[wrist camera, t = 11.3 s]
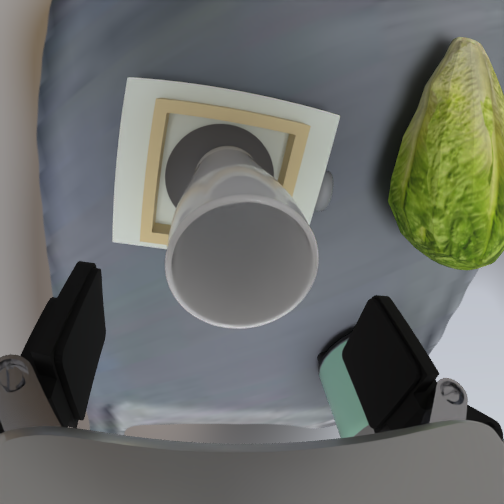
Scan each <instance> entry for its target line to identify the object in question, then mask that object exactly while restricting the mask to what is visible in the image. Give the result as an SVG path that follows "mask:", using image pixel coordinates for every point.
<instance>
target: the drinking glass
mask: <svg viewBox="0 0 504 504" xmlns="http://www.w3.org/2000/svg"><path fill="white" fill-rule="evenodd" d="M318 263H319V252H318V246H317V242H316V239H315V236H314V234H313V232H312V230H311V228H310V226H309V224H308V222H307V220H306V218H305V217H304V215H303V213H302V211H301V210H300V208H299V206H298V205H297V203H296V202H295V201H294V199H293V198H292V197H291V195H290V194H289V193H288V191H287V190H286V189H285V188H284V187H283V186H282V185H281V184H280V183H279V182H278V181H277V180H276V179H275V178H274V177H273V176H272V175H270V174H269V173H268V172H267V171H266V170H265V169H263V168H262V167H261V166H260V165H259V164H258V163H257V162H256V161H255V160H254V158H253V157H252V156H251V155H250V154H249V153H248V152H246V151H245V150H243V149H241V148H238V147H234V146H221V147H217V148H214V149H212V150H210V151H209V152H207V153H206V154H205V155H204V156H203V157H202V158H201V159H200V161H199V162H198V164H197V166H196V169H195V173H194V175H193V177H192V178H191V180H190V182H189V184H188V185H187V187H186V189H185V191H184V193H183V195H182V196H181V198H180V200H179V202H178V205H177V207H176V210H175V212H174V215H173V219H172V222H171V226H170V230H169V235H168V241H167V249H166V256H165V273H166V278H167V282H168V285H169V287H170V290H171V292H172V294H173V295H174V297H175V298H176V300H177V301H178V302H179V304H180V305H181V306H182V307H183V308H184V309H185V310H187V311H188V312H189V313H190V314H192V315H193V316H195V317H196V318H198V319H200V320H202V321H204V322H206V323H209V324H212V325H215V326H219V327H224V328H236V329H240V328H252V327H257V326H261V325H265V324H267V323H270V322H273V321H275V320H277V319H279V318H281V317H283V316H284V315H286V314H287V313H289V312H290V311H291V310H293V309H294V308H295V307H296V306H297V305H298V304H299V303H300V302H301V301H302V300H303V299H304V298H305V296H306V295H307V293H308V292H309V290H310V289H311V287H312V285H313V283H314V280H315V278H316V274H317V270H318Z"/></svg>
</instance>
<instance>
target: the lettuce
mask: <svg viewBox="0 0 504 504" xmlns="http://www.w3.org/2000/svg"><path fill="white" fill-rule="evenodd" d="M388 203H389V205H390V207H391V210H392V212H393V215H394V217H395V220H396V222H397V224H398V227H399V229H400V232H401V233H402V235H403V236H404V237H405V238H406V239H407V240H408V241H409V242H410V243H411V244H412V245H413V246H414V247H415V248H416V249H417V250H419V251H420V252H422V253H423V254H424V255H426V256H427V257H429V258H430V259H431V260H433V261H435V262H437V263H439V264H441V265H444V266H447V267H450V268H454V269H459V270H473V269H477V268H480V267H483V266H486V265H489V264H492V263H493V262H495V261H496V260H497V258H498V257H499V256H500V255H501V254H502V252H503V251H504V95H503V92H502V89H501V87H500V84H499V82H498V79H497V77H496V74H495V72H494V70H493V67H492V65H491V62H490V60H489V58H488V56H487V54H486V52H485V50H484V49H483V47H482V45H481V44H480V43H478V42H477V41H475V40H472V39H469V38H464V37H458V38H455V39H453V41H452V43H451V44H450V46H449V48H448V50H447V52H446V54H445V56H444V58H443V59H442V60H441V62H440V63H439V65H438V66H437V68H436V69H435V71H434V73H433V74H432V76H431V77H430V79H429V81H428V82H427V84H426V85H425V87H424V91H423V94H422V97H421V100H420V102H419V105H418V108H417V110H416V112H415V114H414V116H413V118H412V120H411V122H410V124H409V126H408V128H407V130H406V132H405V134H404V136H403V139H402V143H401V146H400V150H399V153H398V157H397V160H396V164H395V167H394V171H393V174H392V177H391V185H390V192H389V198H388Z"/></svg>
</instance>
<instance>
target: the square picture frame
mask: <svg viewBox="0 0 504 504" xmlns="http://www.w3.org/2000/svg"><path fill="white" fill-rule="evenodd" d="M339 119H340V115H337V114H333V113H330V112H326V111H323V110H319V109H315V108H312V107H308V106H304V105H300V104H296V103H292V102H288V101H284V100H280V99H275V98H271V97H266V96H262V95H257V94H252V93H247V92H242V91H236V90H231V89H225V88H219V87H213V86H206V85H200V84H192V83H185V82H176V81H167V80H158V79H146V78H133V77H128V78H127V84H126V90H125V97H124V103H123V110H122V117H121V125H120V133H119V142H118V152H117V163H116V175H115V189H114V209H113V242H117V243H124V244H132V245H139V246H147V247H154V248H162V249H167V241H168V235H169V230H170V226H171V222H172V219H173V215H174V212H175V210H176V207H177V205H178V202H179V200H180V198H181V196H182V195H183V193H184V191H185V189H186V187H187V185H188V184H189V182H190V180H191V178H192V177H193V175H194V173H195V169H196V166H197V164H198V162H199V161H200V159H201V158H202V157H203V156H204V155H205V154H206V153H207V152H209V151H210V150H212V149H214V148H217V147H221V146H234V147H238V148H241V149H243V150H245V151H246V152H248V153H249V154H250V155H251V156H252V157H253V158H254V160H255V161H256V162H257V163H258V164H259V165H260V166H261V167H262V168H263V169H265V170H266V171H267V172H268V173H269V174H270V175H272V176H273V177H274V178H275V179H276V180H277V181H278V182H279V183H280V184H281V185H282V186H283V187H284V188H285V189H286V190H287V191H288V193H289V194H290V195H291V197H292V198H293V199H294V201H295V202H296V203H297V205H298V206H299V208H300V210H301V211H302V213H303V215H304V217H305V218H306V220H307V222H308V224H309V225H310V222H311V219H312V215H313V212H314V210H316V211H324V210H325V209H326V208H327V206H328V204H329V202H330V200H331V196H332V192H333V177H332V174H331V172H329V171H326V167H327V163H328V160H329V156H330V152H331V149H332V145H333V141H334V138H335V134H336V130H337V126H338V122H339Z"/></svg>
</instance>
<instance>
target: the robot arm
mask: <svg viewBox="0 0 504 504" xmlns="http://www.w3.org/2000/svg"><path fill="white" fill-rule="evenodd" d="M105 335H106V328H105V318H104V307H103V293H102V276H101V269H98V268H96V265H95V263H88V262H82V261H79V262H78V263H77V264H76V266H75V267H74V269H73V271H72V273H71V274H70V276H69V278H68V279H67V281H66V283H65V285H64V287H63V288H62V290H61V292H60V294H59V296H58V297H57V298H54V297H52V298H50V300H49V301H48V303H47V305H46V306H45V308H44V310H43V312H42V314H41V316H40V318H39V319H38V322H37V323H36V325H35V327H34V329H33V331H32V333H31V335H30V337H29V339H28V341H27V343H26V345H25V347H24V350H23V352H22V354H21V356H19V355H5V356H2V357H0V504H504V439H503V432H502V429H501V426H500V425H499V423H498V422H497V421H495V420H493V419H492V418H490V417H488V416H487V415H485V414H483V413H481V412H479V411H477V410H476V409H474V408H472V407H470V406H469V405H467V394H466V392H465V390H464V389H463V387H462V386H461V385H460V384H459V383H458V382H456V381H454V380H452V379H449V378H443V379H440V380H439V381H438V382H436V380H435V379H436V377H437V376H438V375H439V372H438V371H437V369H436V367H435V366H434V364H433V362H432V361H431V359H430V358H429V356H428V354H427V353H426V351H425V350H424V348H423V346H422V345H421V343H420V342H419V340H418V339H417V337H416V336H415V334H414V333H413V331H412V329H411V328H410V326H409V325H408V323H407V322H406V320H405V319H404V317H403V316H402V314H401V313H400V312H399V310H398V309H397V307H396V306H395V304H394V303H393V301H392V300H391V298H390V297H388V296H377V295H376V296H373V297H372V299H369V300H368V302H367V304H366V306H365V308H364V310H363V312H362V314H361V316H360V318H359V320H358V322H357V324H356V326H355V327H354V329H353V331H352V333H351V335H350V337H349V339H348V341H347V343H346V345H345V346H344V348H343V351H342V359H343V361H344V364H345V366H346V369H347V371H348V373H349V376H350V378H351V381H352V383H353V386H354V388H355V391H356V393H357V396H358V398H359V401H360V403H361V406H362V408H363V411H364V413H365V416H366V418H367V421H368V424H369V426H370V427H371V428H373V430H374V432H375V434H368V435H362V436H354V437H347V438H338V439H329V440H319V441H308V442H293V443H274V444H273V443H272V444H216V443H195V442H194V443H193V442H180V441H169V440H159V439H149V438H140V437H132V436H125V435H118V434H111V433H105V432H98V431H91V430H83V429H77V424H78V420H83V419H84V417H85V413H86V408H87V404H88V400H89V396H90V392H91V388H92V384H93V380H94V376H95V372H96V369H97V365H98V361H99V358H100V354H101V351H102V347H103V344H104V341H105ZM68 426H69V427H73V428H67V427H68Z"/></svg>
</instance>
